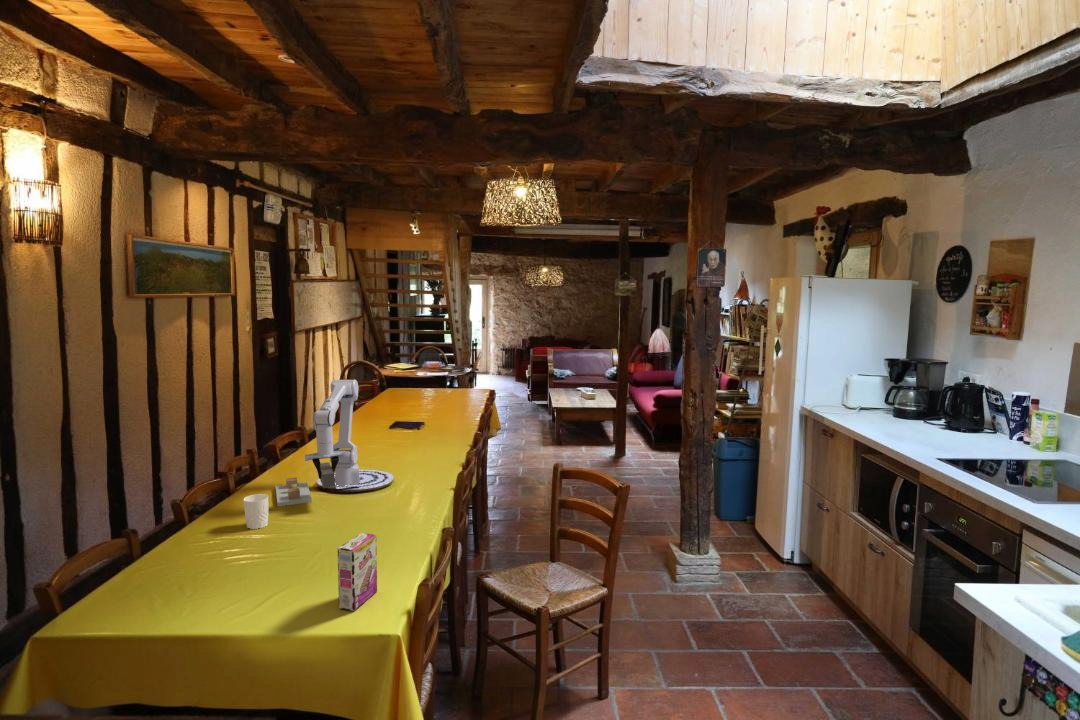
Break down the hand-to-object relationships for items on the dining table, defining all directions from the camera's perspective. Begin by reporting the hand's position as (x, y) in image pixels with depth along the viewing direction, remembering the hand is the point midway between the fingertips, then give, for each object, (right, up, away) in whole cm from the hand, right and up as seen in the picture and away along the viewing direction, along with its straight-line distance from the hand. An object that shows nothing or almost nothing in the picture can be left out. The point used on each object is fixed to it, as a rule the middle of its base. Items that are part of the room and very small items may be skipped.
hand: (326, 477), depth 236 cm
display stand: (-16, -9, +10) cm, 21 cm away
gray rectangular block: (0, -2, 0) cm, 2 cm away
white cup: (-17, -13, -20) cm, 30 cm away
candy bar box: (+33, -19, -71) cm, 81 cm away
